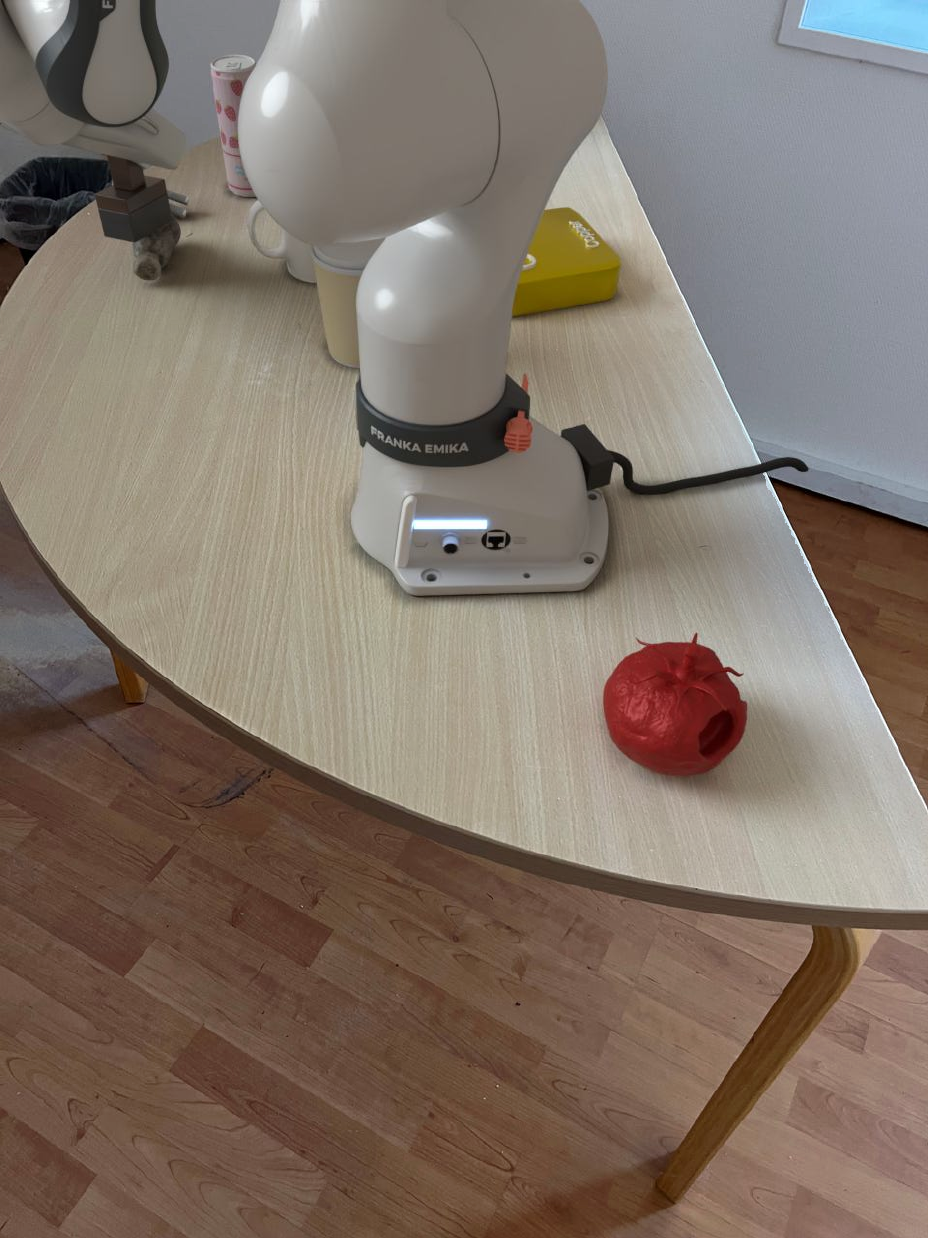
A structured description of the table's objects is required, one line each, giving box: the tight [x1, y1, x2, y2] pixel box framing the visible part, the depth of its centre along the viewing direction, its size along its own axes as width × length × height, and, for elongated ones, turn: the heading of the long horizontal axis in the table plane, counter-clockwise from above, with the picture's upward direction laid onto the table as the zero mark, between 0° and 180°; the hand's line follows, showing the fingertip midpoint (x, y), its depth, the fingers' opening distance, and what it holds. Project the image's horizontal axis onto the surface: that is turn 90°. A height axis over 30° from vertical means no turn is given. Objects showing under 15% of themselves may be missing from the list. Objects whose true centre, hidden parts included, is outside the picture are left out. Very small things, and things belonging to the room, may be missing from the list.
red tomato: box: [602, 632, 748, 777], centre depth 64 cm, size 10×10×9 cm
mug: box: [247, 199, 317, 284], centre depth 105 cm, size 12×8×10 cm
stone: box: [131, 213, 182, 282], centre depth 107 cm, size 10×5×8 cm
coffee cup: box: [311, 237, 386, 370], centre depth 94 cm, size 9×9×12 cm
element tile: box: [512, 206, 622, 317], centre depth 107 cm, size 15×15×5 cm
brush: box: [94, 155, 173, 243], centre depth 98 cm, size 7×4×14 cm, turn 158°
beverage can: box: [210, 54, 257, 198], centre depth 116 cm, size 6×6×15 cm
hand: (129, 157), depth 98 cm, fingers closed on brush, 2 cm apart
